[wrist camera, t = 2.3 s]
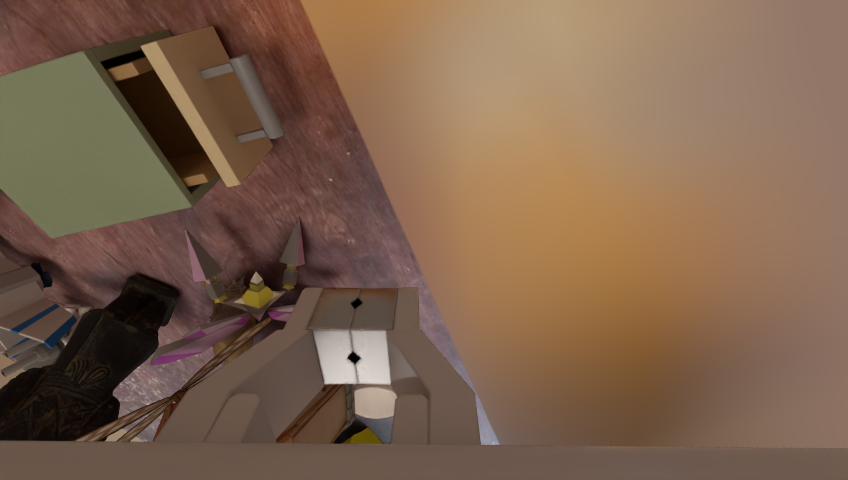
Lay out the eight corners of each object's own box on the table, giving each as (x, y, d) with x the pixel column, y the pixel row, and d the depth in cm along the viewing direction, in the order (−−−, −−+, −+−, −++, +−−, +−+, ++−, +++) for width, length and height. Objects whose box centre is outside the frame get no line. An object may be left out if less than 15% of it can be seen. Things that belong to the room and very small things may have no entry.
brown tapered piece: (268, 268, 46) (252, 297, 42) (254, 366, 57) (241, 396, 53) (217, 255, 45) (196, 284, 41) (214, 358, 56) (197, 388, 52)
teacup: (429, 382, 60) (429, 414, 55) (365, 400, 63) (361, 432, 59) (393, 338, 53) (390, 370, 49) (324, 360, 57) (315, 393, 52)
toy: (99, 220, 31) (143, 268, 44) (108, 357, 28) (152, 366, 41) (354, 198, 41) (329, 243, 54) (379, 298, 38) (346, 320, 51)
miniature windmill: (302, 266, 53) (86, 290, 24) (411, 350, 51) (324, 494, 21) (211, 398, 55) (-100, 577, 25) (313, 486, 53) (103, 797, 23)
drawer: (257, 12, 29) (210, 24, 23) (311, 137, 35) (286, 174, 29) (82, 65, 32) (-5, 89, 25) (160, 173, 38) (106, 215, 31)
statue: (108, 294, 49) (-208, 619, 24) (117, 262, 45) (-239, 599, 21) (187, 324, 52) (-22, 636, 28) (201, 296, 49) (-24, 621, 24)
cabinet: (169, 29, 31) (81, 50, 23) (241, 157, 37) (192, 207, 30) (33, 70, 33) (-89, 102, 25) (125, 185, 39) (51, 239, 32)
